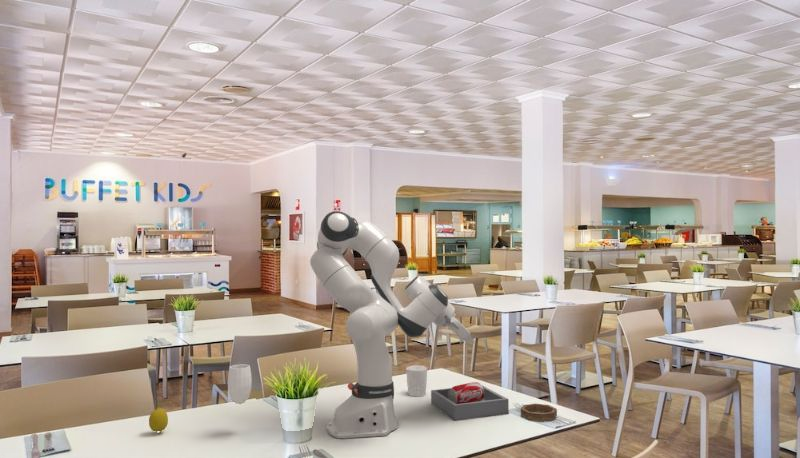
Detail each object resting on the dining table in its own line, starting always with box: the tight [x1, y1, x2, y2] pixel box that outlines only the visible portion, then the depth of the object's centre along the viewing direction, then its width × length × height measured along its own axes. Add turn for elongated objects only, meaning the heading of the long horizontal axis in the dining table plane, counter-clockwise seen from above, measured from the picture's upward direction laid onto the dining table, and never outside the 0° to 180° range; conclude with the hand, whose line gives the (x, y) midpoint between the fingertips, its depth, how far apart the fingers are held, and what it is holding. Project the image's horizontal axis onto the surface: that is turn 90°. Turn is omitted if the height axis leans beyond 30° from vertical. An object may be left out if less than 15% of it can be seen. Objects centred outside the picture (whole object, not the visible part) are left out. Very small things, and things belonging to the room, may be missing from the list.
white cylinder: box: [406, 365, 428, 397], centre depth 229 cm, size 8×8×10 cm
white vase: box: [227, 363, 253, 405], centre depth 188 cm, size 7×7×21 cm
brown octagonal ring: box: [520, 403, 558, 423], centre depth 201 cm, size 11×11×2 cm
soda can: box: [448, 381, 484, 404], centre depth 212 cm, size 7×7×12 cm
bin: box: [430, 384, 510, 421], centre depth 210 cm, size 20×20×5 cm
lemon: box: [148, 407, 169, 432], centre depth 188 cm, size 6×6×8 cm
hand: (469, 340), depth 211 cm, fingers open, 7 cm apart
